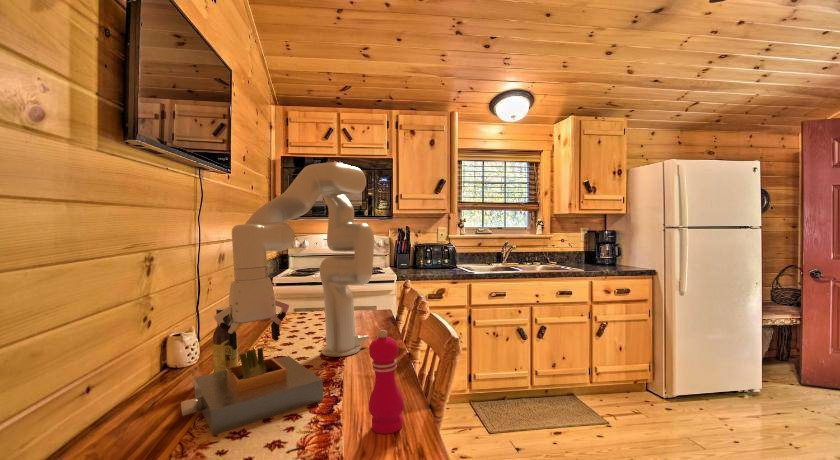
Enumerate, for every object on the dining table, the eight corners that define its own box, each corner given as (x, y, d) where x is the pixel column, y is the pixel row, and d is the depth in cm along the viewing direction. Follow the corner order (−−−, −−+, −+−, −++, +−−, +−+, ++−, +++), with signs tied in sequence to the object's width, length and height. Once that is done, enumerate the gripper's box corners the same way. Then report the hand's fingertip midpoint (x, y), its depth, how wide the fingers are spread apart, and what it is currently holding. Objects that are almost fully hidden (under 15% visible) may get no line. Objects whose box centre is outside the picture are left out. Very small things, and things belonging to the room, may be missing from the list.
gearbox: (289, 373, 117) (288, 347, 117) (323, 400, 98) (321, 369, 97) (176, 402, 100) (174, 371, 100) (190, 441, 81) (188, 404, 81)
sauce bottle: (229, 384, 111) (225, 311, 110) (209, 383, 112) (205, 311, 112) (244, 375, 117) (240, 306, 117) (225, 374, 118) (221, 306, 118)
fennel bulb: (269, 392, 103) (262, 344, 104) (270, 397, 99) (263, 348, 99) (245, 399, 101) (237, 350, 101) (245, 405, 96) (237, 354, 97)
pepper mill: (370, 419, 87) (365, 326, 87) (404, 416, 88) (399, 324, 87) (368, 437, 80) (364, 335, 79) (405, 434, 80) (401, 333, 80)
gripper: (281, 269, 108) (285, 333, 108) (209, 277, 98) (213, 348, 98) (291, 271, 102) (295, 339, 102) (215, 280, 91) (219, 356, 92)
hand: (255, 343), depth 100 cm, fingers open, 9 cm apart
